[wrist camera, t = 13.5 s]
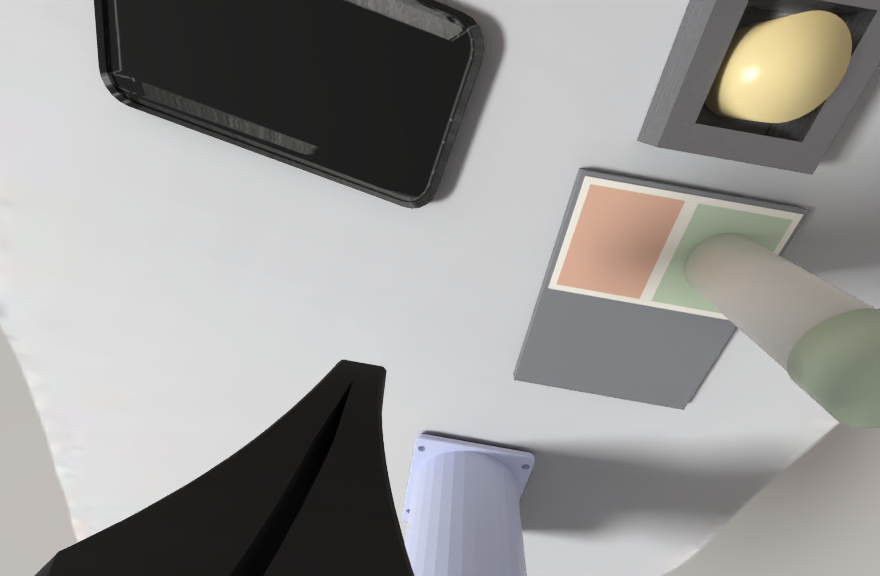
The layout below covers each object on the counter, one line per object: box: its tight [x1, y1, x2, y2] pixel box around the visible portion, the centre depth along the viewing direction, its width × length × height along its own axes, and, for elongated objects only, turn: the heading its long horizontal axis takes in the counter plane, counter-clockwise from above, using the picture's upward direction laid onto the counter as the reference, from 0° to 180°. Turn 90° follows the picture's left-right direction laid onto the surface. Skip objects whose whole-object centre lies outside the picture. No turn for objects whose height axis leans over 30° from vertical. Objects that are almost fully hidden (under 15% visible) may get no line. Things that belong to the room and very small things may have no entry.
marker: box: [684, 233, 880, 428], centre depth 14 cm, size 3×3×8 cm
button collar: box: [637, 0, 880, 174], centre depth 14 cm, size 6×6×2 cm
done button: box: [705, 10, 852, 123], centre depth 14 cm, size 3×3×2 cm
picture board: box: [514, 168, 810, 410], centre depth 20 cm, size 12×10×1 cm
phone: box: [94, 0, 484, 208], centre depth 16 cm, size 8×1×15 cm
